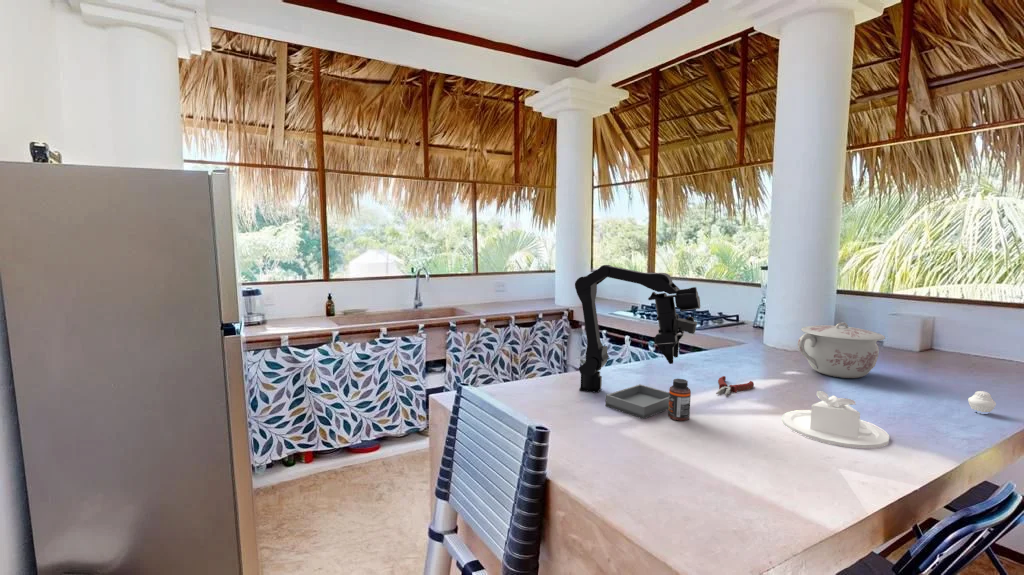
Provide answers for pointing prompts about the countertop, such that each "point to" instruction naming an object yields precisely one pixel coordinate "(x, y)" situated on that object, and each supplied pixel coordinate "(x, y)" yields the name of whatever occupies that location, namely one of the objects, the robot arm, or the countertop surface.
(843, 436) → the dish
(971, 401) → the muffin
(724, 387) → the pliers
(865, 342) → the chamber pot
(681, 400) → the supplement bottle
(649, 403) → the tray
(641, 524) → the countertop surface
